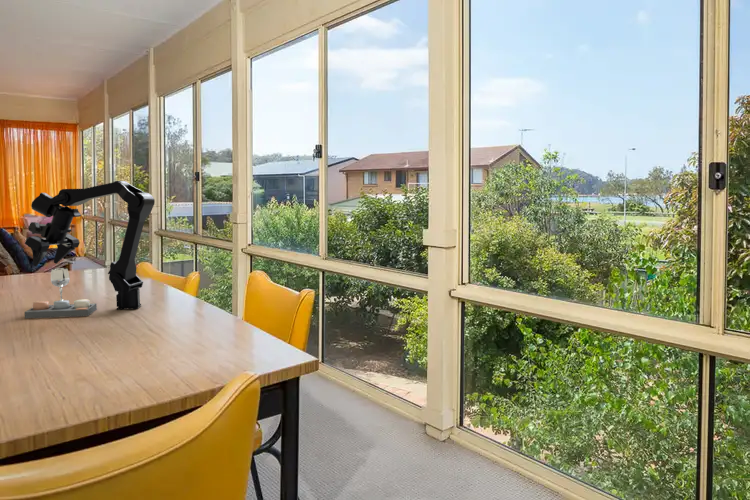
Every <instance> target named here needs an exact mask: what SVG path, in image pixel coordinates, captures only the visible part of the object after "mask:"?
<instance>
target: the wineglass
mask: <svg viewBox="0 0 750 500" xmlns="http://www.w3.org/2000/svg"><path fill="white" fill-rule="evenodd" d="M50 282H51V284H52V285H53V286H54V287H57V288H59V289H58V290H59V295H60V299H59V300H64V299H63V287H65V286H67V285H68V284H69V283H70V273H69V269H68V268H67V267H59V268H57V267H56V268H52V269H51V272H50Z"/></svg>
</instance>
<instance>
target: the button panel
mask: <svg viewBox="0 0 750 500" xmlns="http://www.w3.org/2000/svg"><path fill="white" fill-rule="evenodd" d="M69 305H70V308H68V309H54V304H49V309H47V310H33V307H31V308H29V309H28V310H26V311H24V319H40V318H41V319H44V318H45V319H47V318H68V317H69V318H71V317H75V318H76V317H89V316H90V315H91V314H93V313H94V312H96V311H97V303H90V307H89V308H88V307H86V308H77V309H74V303H73V304H70V303H69Z"/></svg>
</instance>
